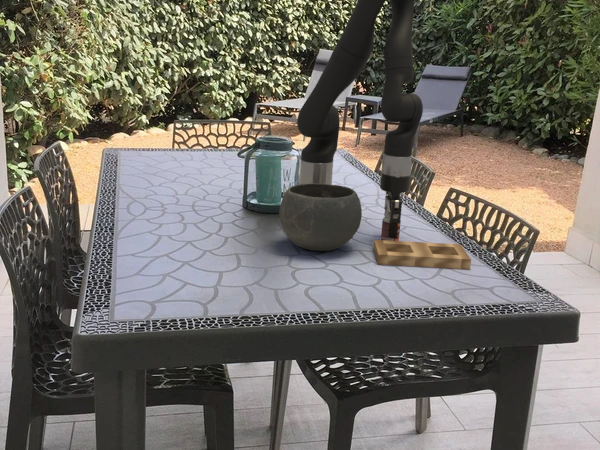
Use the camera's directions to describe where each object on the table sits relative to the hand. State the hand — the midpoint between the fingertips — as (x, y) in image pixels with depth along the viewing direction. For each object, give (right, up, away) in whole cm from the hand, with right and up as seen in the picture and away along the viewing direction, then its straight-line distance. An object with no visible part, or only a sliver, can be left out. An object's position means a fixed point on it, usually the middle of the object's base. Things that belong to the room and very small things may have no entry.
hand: (390, 232), depth 183 cm
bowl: (-19, -4, -7) cm, 21 cm away
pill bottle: (0, -3, +1) cm, 3 cm away
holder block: (+6, -6, -12) cm, 15 cm away
